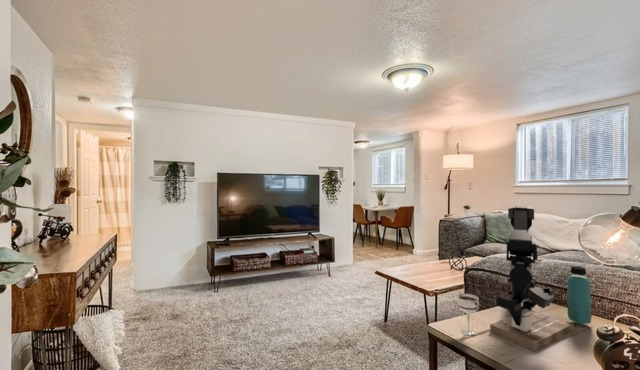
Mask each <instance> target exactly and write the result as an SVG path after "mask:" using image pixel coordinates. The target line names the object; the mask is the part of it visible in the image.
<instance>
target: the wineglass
mask: <svg viewBox="0 0 640 370" xmlns="http://www.w3.org/2000/svg"><path fill="white" fill-rule="evenodd" d="M456 297H457V301H456V304H457V307H458V308H459V309H460V310H461V311H462V312H463V313H465V314H466V320H467V323H466V324H467V328H463V329H460V333H461V334H462V335H464V336H467V335H470V336H469V337H475V336H477V335H478V334H477V332H476V331H475V330H473V329H471V328H470V315H471V314H474V313H476V312H477V311H478V310H479V308H480V303H479V299H480V298H479V297H478V296H477V295H475V294H471V293H459V294H457V296H456ZM471 335H473V336H471ZM474 335H475V336H474Z"/></svg>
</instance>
